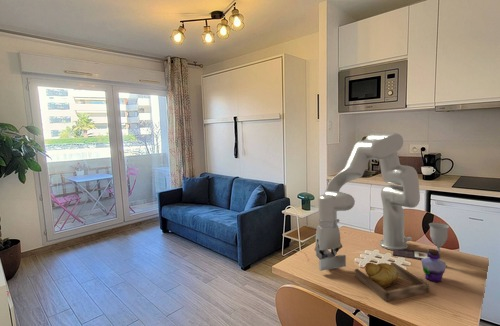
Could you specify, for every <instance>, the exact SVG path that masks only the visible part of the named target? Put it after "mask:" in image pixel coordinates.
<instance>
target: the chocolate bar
mask: <svg viewBox="0 0 500 326" xmlns="http://www.w3.org/2000/svg"><path fill="white" fill-rule="evenodd" d="M427 252H428V251H422V250H416V249H409V248H407V249H404V250H392V257H393V256H394V257H397V258H398V257H399V258H405V259H413V260H418V261H422V260H421V259H423V258H429V257H428V256H427Z"/></svg>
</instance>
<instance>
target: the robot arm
mask: <svg viewBox="0 0 500 326" xmlns="http://www.w3.org/2000/svg"><path fill="white" fill-rule="evenodd" d="M403 146H404V138H403V136H402V135H401V134H400V133H398V132H376V133H375V132H374V133H369V134H368V135H367V136H366V137H365V140H359V141H357V142H355V144H354V145H353V147H352V149H351V152H350V154H349V155H348V156H349V157H348V159H347V161H346V163H345V165H344V167H343V169H341V170H340V171H339V172H338V173H337V174H336V175H334V176H333V177H332V179H330V181H329V182H328V184H327V186H326V189H325V190H324V194H321V195H319V196H318V225H317V226H316V231H315V247H314V251H315V253H316V252H318V253H320V254H322V258H326V257H327V256H326V250H330V252H331V253H332V254H333V255H335V256H337V254H338V252H339V250H340V249H342V248H343V245H342V243H341V232H340V228H339V227H340V226H339V225H338V223H340V219H339V218H337V216H338V213H337V212H341V211H343V212H344V211H349V210H352V209H353V207H354V206H355V202H356V200H355V198H354V197H353V196H352V195H351V194H350V193H347V192H342V191H340V190H341V188H342V187H343V186H344V185H346V184H347V183H350V182H351V181H354V180H357V179H360V178H362V177H363V175H364V174H365V170H366V168H367V165H368V164H369V162H370V160H376V161H379V164H380V165H379V166H380V173H381V178H382V180H383V182H385V183H387V185H384V186H383V187H382V188H381V190H380V199H381V202H382V212H383V213H382V215H383V216H382V218H383V219H382V220H383V221H382V228H383V229H382V235H383V237H382V238H383V239H381V240H380V241H379V245H380V246H381V247H382V248H384V249H386V250H390V251H393V250H404V249H409V248H408V244H407V242H411V241H413V238H412V237H411V236H407V237H406V236H405V211H404V210H405V209H404V208H403V207H405V208H410V209H411V208H413V209H414V208H416V207H417V206H418V205H419V204H420V201H421V192H420V191H421V190H420V182H419V174H418V172H417V170H416V169H415V167H414V166H410V165H402V164H401V163H400V158H399V153H398V152H399V151H401V149H402V148H403ZM319 247H320V249H319Z"/></svg>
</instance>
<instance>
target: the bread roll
mask: <svg viewBox="0 0 500 326" xmlns="http://www.w3.org/2000/svg"><path fill="white" fill-rule="evenodd" d="M364 270H365V273H366V276H368V277H369V278H370V279H371V280H373V281H374V282H375V283H376V284H378V285H379V286H380V287H382V288H383V289H385V288H388V287H391V286H393V285H396V283H397V282H398V279H399V274H398V273H397V271H396V269H395V268H394V267H393V266H392V265H391V264H389V263H386V262H385V263H383V262H381V263H374V262H367V263H366V264H365V267H364Z"/></svg>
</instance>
